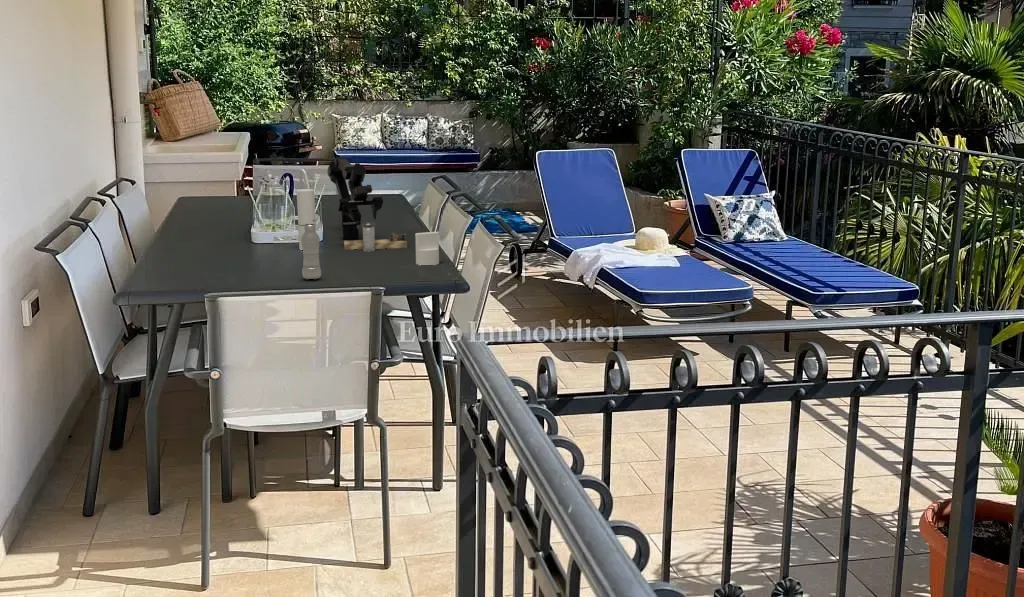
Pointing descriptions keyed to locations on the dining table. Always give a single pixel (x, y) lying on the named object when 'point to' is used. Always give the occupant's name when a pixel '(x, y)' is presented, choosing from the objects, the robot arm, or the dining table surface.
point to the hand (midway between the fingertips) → (364, 219)
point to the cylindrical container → (305, 210)
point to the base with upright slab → (427, 248)
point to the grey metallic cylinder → (368, 236)
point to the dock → (377, 243)
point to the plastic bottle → (310, 253)
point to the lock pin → (398, 237)
